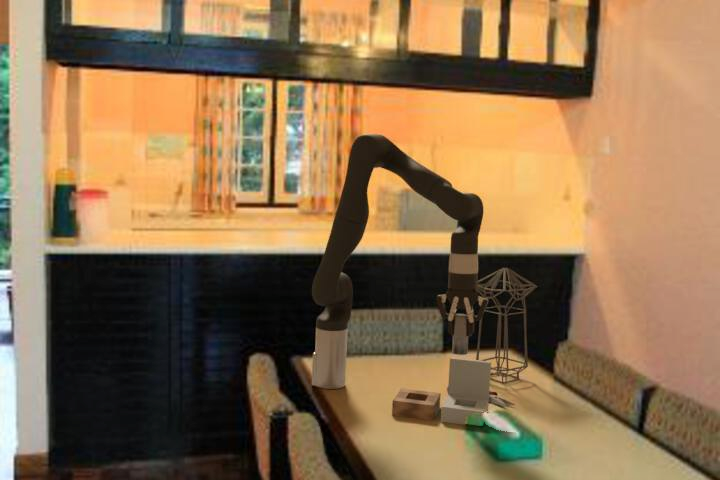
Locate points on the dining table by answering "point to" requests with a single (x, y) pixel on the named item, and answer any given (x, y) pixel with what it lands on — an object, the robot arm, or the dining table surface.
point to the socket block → (416, 404)
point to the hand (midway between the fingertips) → (460, 334)
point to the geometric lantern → (493, 285)
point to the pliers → (498, 399)
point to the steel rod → (460, 334)
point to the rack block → (466, 389)
